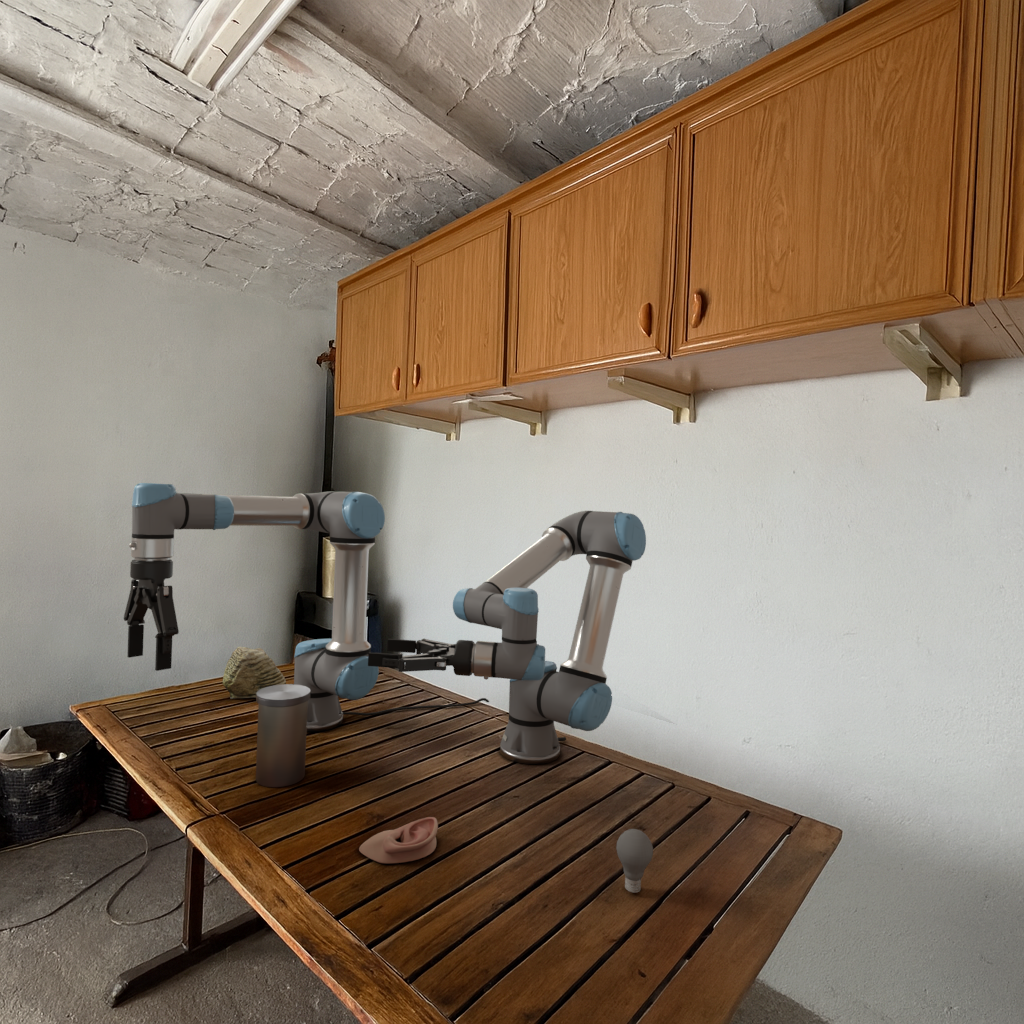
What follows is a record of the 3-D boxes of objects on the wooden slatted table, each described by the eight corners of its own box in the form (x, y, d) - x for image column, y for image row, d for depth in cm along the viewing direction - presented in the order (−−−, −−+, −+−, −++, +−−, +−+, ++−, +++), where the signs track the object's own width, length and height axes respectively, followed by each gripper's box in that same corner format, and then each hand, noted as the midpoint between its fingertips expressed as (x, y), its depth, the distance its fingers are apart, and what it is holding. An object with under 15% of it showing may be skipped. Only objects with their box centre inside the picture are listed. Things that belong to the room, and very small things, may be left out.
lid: (264, 710, 134) (264, 702, 134) (249, 695, 143) (250, 688, 143) (317, 701, 141) (317, 694, 141) (300, 688, 150) (300, 681, 150)
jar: (263, 791, 135) (266, 703, 135) (250, 773, 143) (253, 690, 143) (311, 780, 141) (314, 696, 141) (296, 763, 150) (299, 684, 149)
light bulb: (610, 879, 108) (613, 822, 108) (644, 879, 109) (647, 822, 109) (619, 902, 102) (622, 840, 102) (655, 901, 103) (658, 840, 103)
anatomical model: (352, 836, 111) (378, 805, 123) (351, 858, 111) (377, 826, 123) (423, 847, 109) (444, 815, 120) (422, 870, 109) (443, 836, 120)
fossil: (218, 695, 195) (220, 647, 195) (278, 685, 208) (279, 640, 207) (228, 703, 189) (230, 653, 188) (289, 692, 201) (290, 645, 201)
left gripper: (108, 554, 134) (104, 654, 134) (159, 565, 118) (155, 678, 119) (146, 552, 140) (143, 648, 140) (199, 563, 124) (195, 671, 124)
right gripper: (462, 692, 125) (358, 684, 127) (481, 661, 150) (394, 655, 152) (464, 654, 125) (360, 647, 127) (482, 629, 150) (395, 624, 152)
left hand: (148, 662), depth 129 cm, fingers open, 13 cm apart
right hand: (378, 651), depth 140 cm, fingers open, 13 cm apart
